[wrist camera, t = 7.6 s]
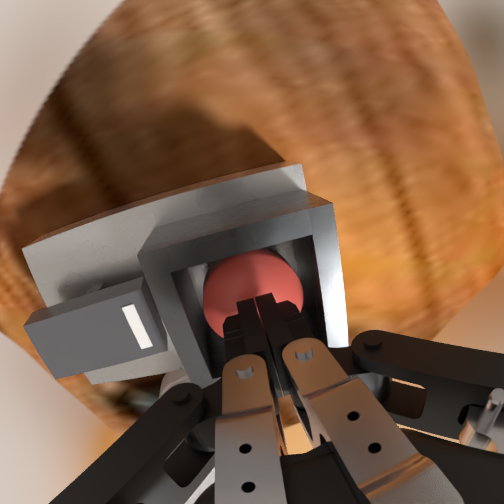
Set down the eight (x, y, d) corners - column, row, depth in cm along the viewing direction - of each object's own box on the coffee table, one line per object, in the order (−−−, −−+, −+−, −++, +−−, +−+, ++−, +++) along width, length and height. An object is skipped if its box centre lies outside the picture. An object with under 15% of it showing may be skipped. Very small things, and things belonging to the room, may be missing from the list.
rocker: (33, 311, 13) (22, 326, 12) (143, 276, 14) (140, 289, 13) (61, 362, 14) (55, 379, 13) (167, 333, 16) (167, 351, 14)
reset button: (191, 259, 14) (189, 271, 12) (285, 234, 14) (294, 243, 12) (217, 337, 15) (219, 354, 14) (301, 315, 15) (309, 329, 14)
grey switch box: (44, 234, 16) (-17, 275, 10) (286, 161, 17) (333, 169, 11) (102, 358, 20) (76, 427, 13) (313, 307, 21) (353, 371, 14)
